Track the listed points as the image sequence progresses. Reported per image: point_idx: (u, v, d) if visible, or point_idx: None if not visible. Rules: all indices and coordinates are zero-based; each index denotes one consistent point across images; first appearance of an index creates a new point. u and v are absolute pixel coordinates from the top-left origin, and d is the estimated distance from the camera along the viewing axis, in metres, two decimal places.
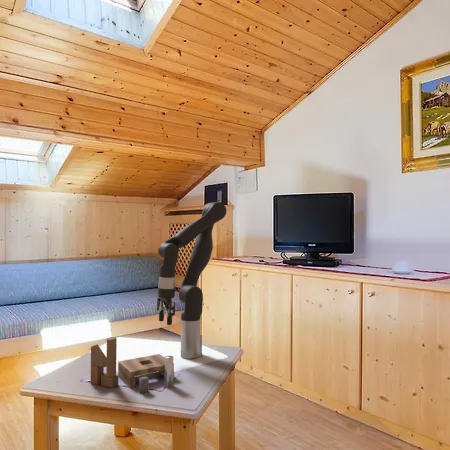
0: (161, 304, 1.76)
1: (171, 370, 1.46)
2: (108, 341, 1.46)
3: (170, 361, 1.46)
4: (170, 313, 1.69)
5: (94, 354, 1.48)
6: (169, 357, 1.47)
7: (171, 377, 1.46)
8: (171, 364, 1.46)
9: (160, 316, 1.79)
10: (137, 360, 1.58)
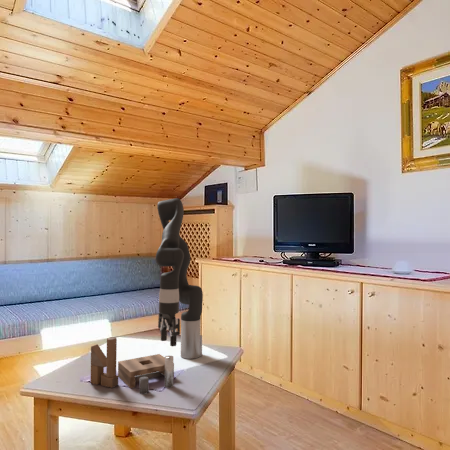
0: (163, 321, 1.47)
1: (171, 370, 1.46)
2: (108, 341, 1.46)
3: (170, 361, 1.46)
4: (174, 332, 1.41)
5: (94, 354, 1.48)
6: (169, 357, 1.47)
7: (171, 377, 1.46)
8: (171, 364, 1.46)
9: (162, 335, 1.50)
10: (137, 360, 1.58)
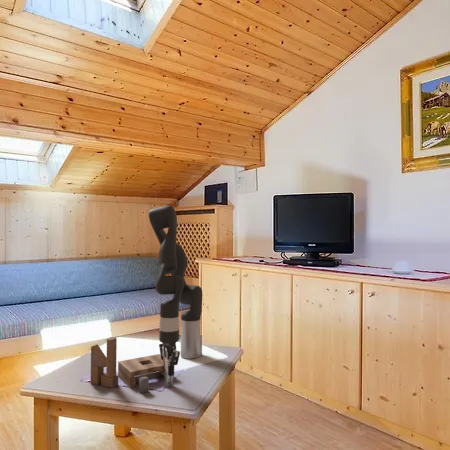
0: (164, 349, 1.47)
1: None
2: (108, 341, 1.46)
3: (170, 361, 1.46)
4: (172, 363, 1.43)
5: (94, 354, 1.48)
6: None
7: (171, 377, 1.46)
8: None
9: None
10: (137, 360, 1.58)
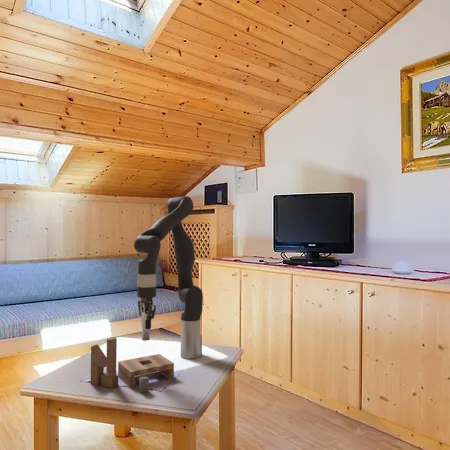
0: (141, 304, 1.56)
1: None
2: (108, 341, 1.46)
3: None
4: (148, 316, 1.52)
5: (94, 354, 1.48)
6: None
7: (148, 330, 1.55)
8: None
9: None
10: (137, 360, 1.58)
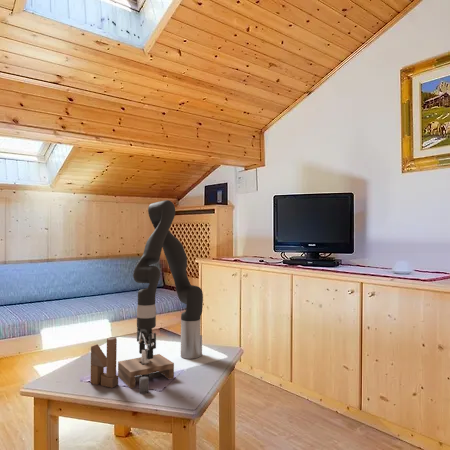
0: (141, 335, 1.56)
1: (147, 362, 1.55)
2: (108, 341, 1.46)
3: None
4: (150, 346, 1.49)
5: (94, 354, 1.48)
6: (146, 350, 1.55)
7: None
8: None
9: (140, 348, 1.59)
10: (137, 360, 1.58)
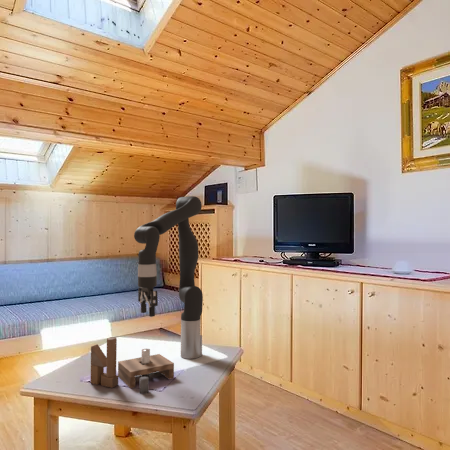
0: (142, 294, 1.59)
1: (147, 362, 1.55)
2: (108, 341, 1.46)
3: (146, 354, 1.54)
4: (152, 303, 1.53)
5: (94, 354, 1.48)
6: (146, 350, 1.55)
7: None
8: (147, 356, 1.55)
9: (142, 307, 1.62)
10: (137, 360, 1.58)
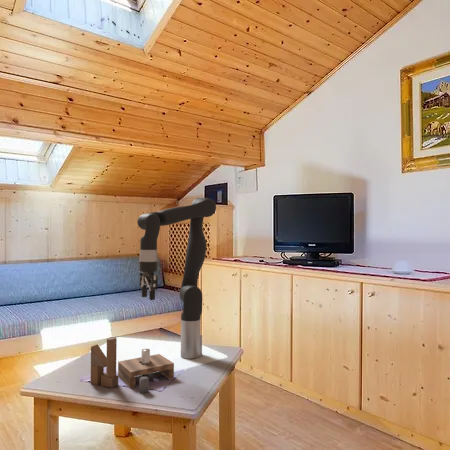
0: (143, 278, 1.65)
1: (147, 362, 1.55)
2: (108, 341, 1.46)
3: (146, 354, 1.54)
4: (152, 287, 1.59)
5: (94, 354, 1.48)
6: (146, 350, 1.55)
7: None
8: (147, 356, 1.55)
9: (143, 292, 1.68)
10: (137, 360, 1.58)
